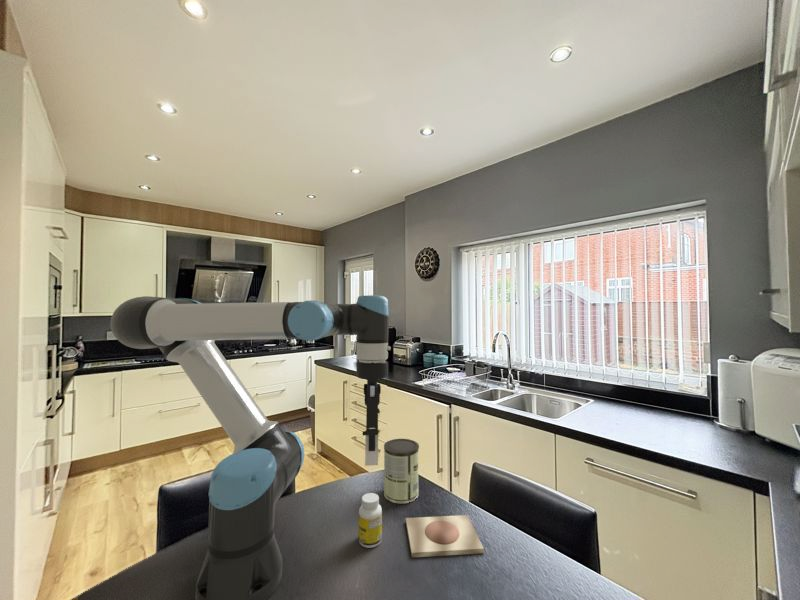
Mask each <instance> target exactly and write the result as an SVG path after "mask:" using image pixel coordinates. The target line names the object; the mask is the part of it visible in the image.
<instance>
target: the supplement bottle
mask: <svg viewBox="0 0 800 600" xmlns="http://www.w3.org/2000/svg"><path fill="white" fill-rule="evenodd" d="M382 520H383V510H382V505H381V504H380V496H379V495H378V494H377V493H374V492H367V493H364V495H362V497H361V505H360V507H359V509H358V543H359V544H360V546H362V547H364V548H367V549H370V548H376V547H377V546H378V545H380V544H381V542H382V539H383V535H382V534H383V530H382V529H383V528H382V527H383V521H382Z"/></svg>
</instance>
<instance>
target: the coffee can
mask: <svg viewBox="0 0 800 600" xmlns="http://www.w3.org/2000/svg"><path fill="white" fill-rule="evenodd" d="M419 448H420V445H419V443H418V442H417V441H415V440H412V439H410V438H409V439H408V438H394V439H391V440H387V441H386V442H385V443H384V445H383V450H384V451H383V453H384V454H383V455H384V456H383V457H384V458H383V460H384V461H383V462H384V463H383V467H384V469H383V471H384V472H383V473H384V474H383V475H384V477H383V482H384V484H383V487H384V488H383V495H384V498H385V499H386V500H387V501H388V500H389V502H390V503H393V504H400V505H402V504H409V502H410V503H413V502H414V501H416V500H417V499H418V498H419V494H420V493H419ZM416 498H417V499H416ZM415 499H416V500H415Z"/></svg>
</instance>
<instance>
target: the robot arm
mask: <svg viewBox="0 0 800 600" xmlns="http://www.w3.org/2000/svg"><path fill="white" fill-rule="evenodd" d="M356 300H357V301H356V303H350V304H349V303H329V302H321V301H319V300H304V301H294V302H293V301H291V302H290V301H281V302H280V301H274V302H272V301H271V302H270V301H269V302H266V301H265V302H222V303H221V302H220V303H219V302H217V303H215V302H214V303H202V302H200V301H198V300H194V299H190V298H183V297H178V298H170V297H160V296H149V295H147V296H145V295H144V296H139V297H137V296H136V297H133V298H130V299H128V300H126V301H124V302H122V303H121V304H120V305H118V306H117V308H115V310H114V311H113V313H112V315H111V319H110V322H109V323H110V329H111V333H112V335H113V337H114V338H115V339H116V340H117V341H118V342H120V343H121V344H122V345H124V346H126V347H129V348H132V349H138V350H146V349H147V350H148V349H159V350H160V351H161V353H162V354H163V356H164V357H165V359H166V360H167V361H168V362H173V363H177V364H179V365H180V367H181V368H182V370H183V371H184V373H185V375H186V376H187V378H188V379H189V380H190V382H191V383H192V384H193V387H195V389H196V390H197V392H198V394H199V395H200V397H201V398H202V399H203V401H204V402H205V404H206V405H207V407H208V408H209V410H210V411H211V412H212V414H213V415H214V417H215V418H216V420H217V421H218V422H219V424H220V426H221V427H222V428H223V430H224V431H225V433H226V434H227V436H228V438H229V439H230V440H231V442H232V443H233V444H234V445H233V446H234V449H233V452H232V453H231V454H230V455H228V456H226V457H225V458H223V459H222V460H221V461H220V462H219V463H218V464H216V466H215V467H214V469H213V471H212V473H211V475H210V484H209V489H208V498H209V501H208V504H209V505H208V531H207V532H208V533H207V534H208V538H207V541H208V543H207V552H206V555H205V557H204V558H205V559H204V560H203V563H202V566H201V569H200V572H199V574H198V577H197V580H196V585H195V593H194V594H195V597H194V599H195V600H268V599H269V598H270V597H271V596H272V595H273V594H274V592H275V591H276V590H277V588H278V587H279V585H280V583H281V580H282V577H283V555H282V553H281V550H280V548H279V544H278V541H277V539H276V535H275V514H276V513H275V511H276V510H275V509H276V508H275V507H276V504H277V502H278V500H279V499H280V498H281V496H282V495H283V494H284V493H285V491H286V490H287V488H288V487H289V486H290V484H291V483H292V482H293V481H294V480H295V479H296V478H297V476H298V475H299V473H300V471H301V468H302V466H303V464H304V461H305V447H304V444H303V442H302V439H300V437H299V436H298V435H297V434H296V433H295V432H292V431H290V430H287V429H286V430H285V429H284V428H282V426H281V424H280V423H279V422H278V421H276V420H275V421H273V420H269V419H268V418H267V416H266V415H265V413H264V412H263V410H262V409H261V408H260V406H259V405H258V403H257V402H256V400H255V399H254V398H253V396H252V394H251V393H250V392H249V391H248V390H247V388H246V386H245V385H244V384H243V381H242V380H241V379H240V377H239V376H238V374H237V373H236V372H235V370H234V369H233V367H232V366H231V365H230V363H229V362H228V360H227V359H226V358H225V356H224V355H223V353H222V352H221V350H220V349H219V347H218V346H217V345H216V343H215V341H231V340H232V341H237V340H238V341H239V340H241V341H243V340H244V341H245V340H246V341H247V340H250V341H251V340H252V341H253V340H303V341H309V342H310V341H318V340H320V339H323V338H327V337H330V336H356V349H355V350H356V351H355V352H356V358H355V359H357V360H358V361H357V362H356V368H355V369H356V372H355V373H356V374H355V375H356V377H357V378H358V379H360V380H361V379H362V380H366V381H367V382H366V383H364V384H363V395H364V405H365V407H366V412H365V413H366V414H365V416H366V417H365V418H366V419H365V420H366V421H365V422H366V424H365V425H366V426H365V429H366V430H365V431H364V430H363V431H362V436H365V446H364V448H365V456H364V457H365V458H364V464H365V465H364V466H365V467H366V466H378V465H379V433H380V432H379V413H380V408H379V405H380V404H381V403H380V401H381V400H380V397H381V387H382V386H381V383H378V380H382V379H383V380H384V379H386V378H387V377H388V376H389V362H388V361H387V360H388V358H389V352H388V351H391V349H392V347H391V346H390V345H389V328H390V325H389V323H390V322H389V321H390V320H389V319H390V314H389V299H388V298H387V297H385V296H383V295H370V294H369V295H367V294H366V295H359V296H357V299H356Z"/></svg>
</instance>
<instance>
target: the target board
mask: <svg viewBox="0 0 800 600" xmlns="http://www.w3.org/2000/svg"><path fill="white" fill-rule="evenodd" d="M405 524H406V531H407V537H408V543H409V549H410V555H411V558H424V557H425V558H427V557H429V558H430V557H444V556H459V555H460V556H462V555H475V554H476V555H477V554H484V553H485V551H484V550H485V549H484V546H483V544H482V542H481V540H480V537H479V536H478V533H477V531H476V529H475V527H474V525H473V523H472V521H471V519H470V517H469V515H468V514H462V515H460V514H459V515H443V516H423V517H422V516H419V517H406V518H405Z"/></svg>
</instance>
